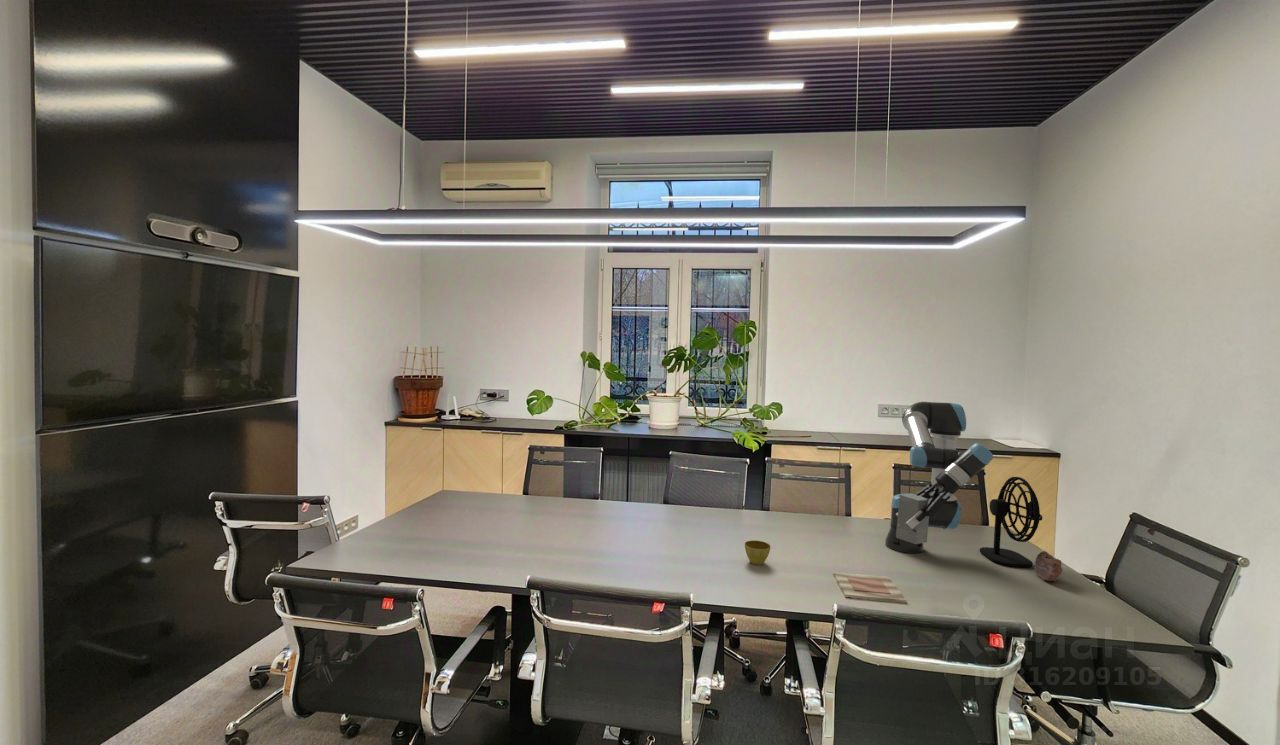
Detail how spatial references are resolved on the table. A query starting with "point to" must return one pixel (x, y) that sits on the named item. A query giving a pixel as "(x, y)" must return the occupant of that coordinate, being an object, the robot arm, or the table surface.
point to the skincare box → (906, 511)
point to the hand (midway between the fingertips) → (903, 521)
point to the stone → (1047, 566)
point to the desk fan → (1012, 523)
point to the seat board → (869, 587)
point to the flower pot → (757, 551)
